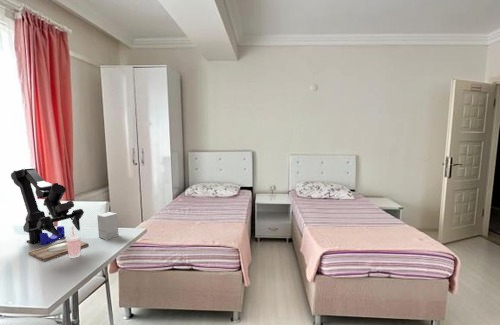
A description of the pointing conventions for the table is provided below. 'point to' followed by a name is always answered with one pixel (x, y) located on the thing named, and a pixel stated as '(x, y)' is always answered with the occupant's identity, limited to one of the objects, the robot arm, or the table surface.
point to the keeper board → (53, 250)
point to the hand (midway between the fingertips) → (69, 233)
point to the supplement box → (107, 225)
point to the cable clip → (47, 240)
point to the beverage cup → (73, 245)
